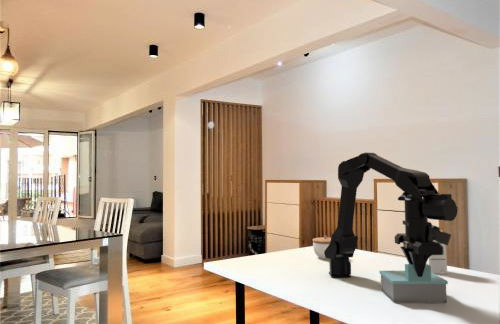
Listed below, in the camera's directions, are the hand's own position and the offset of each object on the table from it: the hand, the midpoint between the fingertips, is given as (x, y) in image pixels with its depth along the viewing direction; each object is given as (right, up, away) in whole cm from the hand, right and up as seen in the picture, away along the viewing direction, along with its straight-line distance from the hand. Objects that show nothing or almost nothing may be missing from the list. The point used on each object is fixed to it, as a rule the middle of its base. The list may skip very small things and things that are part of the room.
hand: (417, 275), depth 104 cm
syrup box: (+20, -8, +31) cm, 38 cm away
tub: (0, -7, +4) cm, 8 cm away
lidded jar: (-14, -10, +58) cm, 60 cm away
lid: (0, -3, +4) cm, 5 cm away
